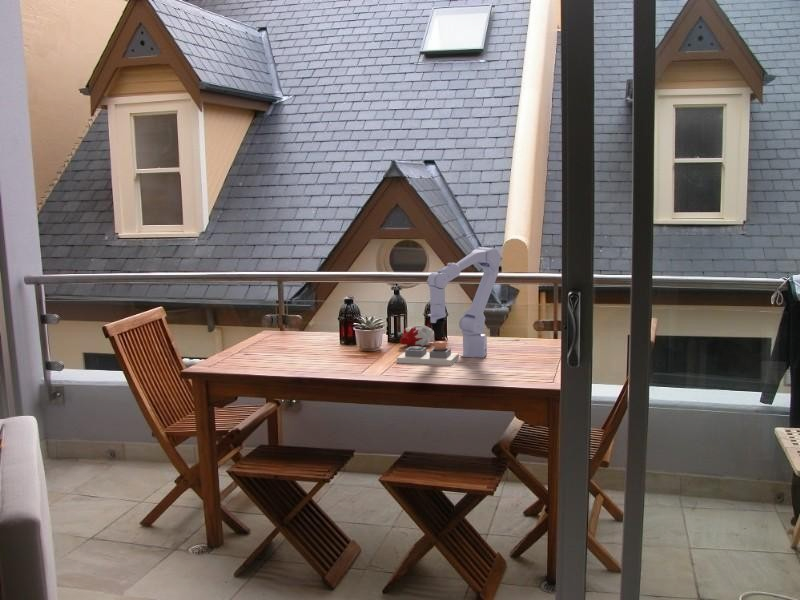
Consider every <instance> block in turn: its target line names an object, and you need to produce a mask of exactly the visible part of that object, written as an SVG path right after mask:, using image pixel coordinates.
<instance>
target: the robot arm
mask: <svg viewBox="0 0 800 600" xmlns="http://www.w3.org/2000/svg"><path fill="white" fill-rule="evenodd" d="M501 260H502V256H501V254H500V251H499V250H498V249H497V248H494V247H493V248H490V247H483V246H478V247H477V248H475V249H473V250H472V251H471V252H470V253H469V254H467V255H466V256H465V257H463V258H461V259H460V260H458V261H457V262H448V263H446V266H444V267H442V268H439V269H437V271H436V272H431V273H430V274H429V275H428V278H427V279H426V284H427V285H428V288H429V297H430V298H429V299H430V302H429V303H430V305H429V306H430V313H428V314H427V317H430V320H429V323H430V325H431V327H432V330H433V335H434V336H435V339H441V338H442V337H443V332H444V327H445V324H446V322H447V319H446V316H447V313H446V287H447V286H448V283H449V282H451V281H452V280H454V279H456V278H457V277H458V276H460V275H461V271H463V270H465V269H467V268H469V267H470V266H472V265H473V264H475V263H477V264H478V265H479V266H480V267H481V268H482V272H483V274H482V277H481V279H480V282H479V285H478V287H477V290H476V291H475V295H474V296H473V300H472V303H471V306H470V307H469V309H467V310H465V311H464V314H463V316H462V317H461V318H460V319H459V321H458V327H459V328H460V330H461V333H462V353H461V354H459V357H462V358H465V357H466V358H482V359H483V358H484V357H486V355H487V354H488V339H487V334H485V333H483V332H484V330H485V322H486V316H485V314H484V312H485V308H486V306H487V304H488V301H489V298H490V296H491V294H492V291H493V289H494V286H495V283H496V281H497V278H498V275H499V269H500V261H501Z"/></svg>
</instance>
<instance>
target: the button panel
mask: <svg viewBox="0 0 800 600" xmlns="http://www.w3.org/2000/svg"><path fill="white" fill-rule="evenodd" d="M410 347H411V346H409V347H407V348H406V349H404V352H402V354H400V355H399V356H397V357H396V363H398V364H414V365H415V364H420V365H436V366H437V365H438V366H440V365H441V366H452V365H453V364H454V363H456V362H457V361H458V360H459V359H460V354H459V352H452V351H451V350H452V348H449V347H446V349H444V350H436V349H434V347H433V348H431V349H430V350H429V351H427V346H426V347H425V346H421V347H422V350H421V351H418V350H410Z"/></svg>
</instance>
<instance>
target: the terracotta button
mask: <svg viewBox="0 0 800 600" xmlns="http://www.w3.org/2000/svg"><path fill="white" fill-rule="evenodd" d="M433 343H434V345H433V348H434V349H436V350H444V349H446V348H447V342H446V341H445V340H444V341H443V340H437V341H434V342H433Z"/></svg>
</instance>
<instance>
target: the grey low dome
mask: <svg viewBox="0 0 800 600" xmlns="http://www.w3.org/2000/svg"><path fill="white" fill-rule="evenodd" d="M409 347H410V350H418V351H421V350H422V347H423V346H420V345H419V346H413V347H412V346H409Z"/></svg>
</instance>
